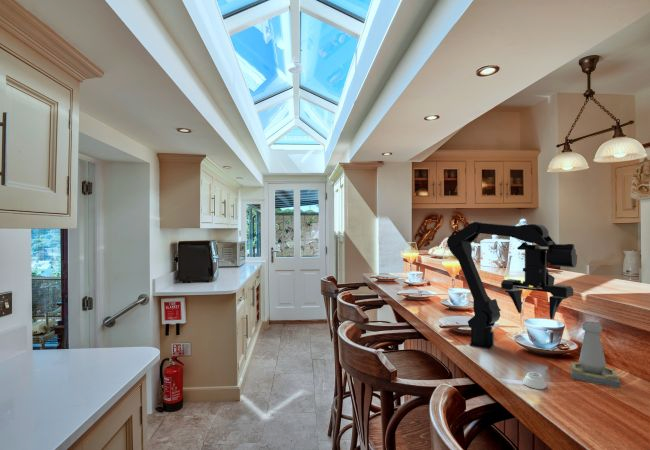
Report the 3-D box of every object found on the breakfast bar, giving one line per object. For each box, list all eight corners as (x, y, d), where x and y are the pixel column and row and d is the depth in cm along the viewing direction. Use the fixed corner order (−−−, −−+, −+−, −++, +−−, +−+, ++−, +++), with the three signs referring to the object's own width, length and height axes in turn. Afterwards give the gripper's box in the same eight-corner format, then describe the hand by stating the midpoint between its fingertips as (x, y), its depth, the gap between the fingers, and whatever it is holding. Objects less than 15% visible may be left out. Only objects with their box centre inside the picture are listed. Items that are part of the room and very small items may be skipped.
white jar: (537, 381, 93) (518, 382, 93) (537, 370, 93) (518, 370, 93) (550, 390, 88) (531, 390, 88) (550, 378, 88) (531, 378, 88)
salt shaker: (611, 374, 94) (611, 325, 94) (592, 375, 93) (592, 325, 93) (592, 366, 100) (592, 319, 100) (573, 367, 99) (573, 320, 99)
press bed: (571, 378, 95) (571, 370, 95) (570, 366, 103) (570, 359, 103) (620, 388, 89) (620, 379, 89) (615, 375, 98) (615, 367, 98)
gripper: (580, 266, 107) (580, 318, 107) (517, 261, 122) (517, 307, 122) (565, 268, 101) (565, 323, 101) (500, 263, 116) (500, 311, 116)
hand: (535, 315), depth 110 cm, fingers open, 9 cm apart
